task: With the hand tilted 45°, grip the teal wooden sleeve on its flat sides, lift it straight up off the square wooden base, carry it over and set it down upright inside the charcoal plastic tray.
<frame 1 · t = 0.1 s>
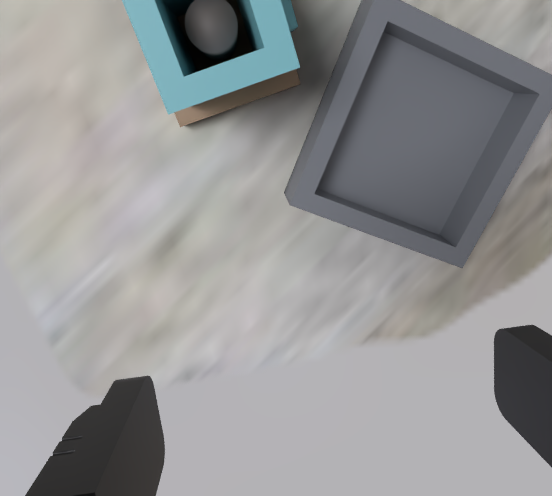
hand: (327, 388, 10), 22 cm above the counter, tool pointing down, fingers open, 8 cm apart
charcoal tray: (405, 138, 31), on the counter
teal sleeve: (217, 38, 26), point 1 cm above the counter, touching square wooden base
square wooden base: (217, 41, 28), on the counter
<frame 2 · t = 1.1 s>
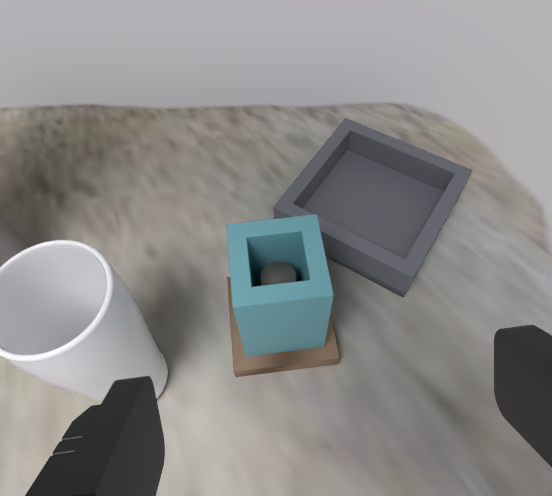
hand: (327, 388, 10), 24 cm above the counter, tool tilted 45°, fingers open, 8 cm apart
charcoal tray: (369, 211, 42), on the counter
drinking glass: (136, 379, 35), on the counter
teal sleeve: (280, 315, 35), point 1 cm above the counter, touching square wooden base
square wooden base: (280, 322, 37), on the counter
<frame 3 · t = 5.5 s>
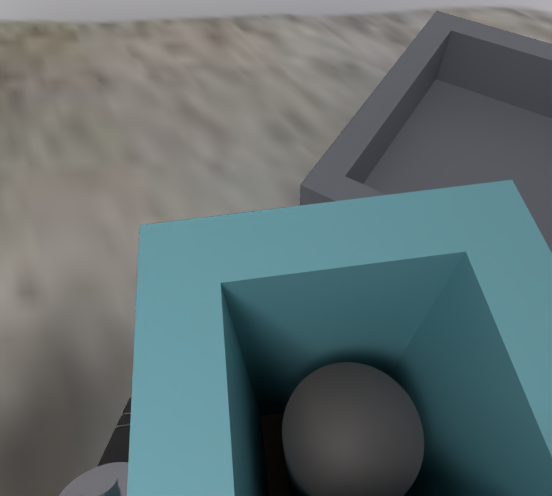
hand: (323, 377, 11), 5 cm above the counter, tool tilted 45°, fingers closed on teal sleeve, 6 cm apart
charcoal tray: (497, 197, 20), on the counter
teal sleeve: (328, 471, 13), point 2 cm above the counter, touching gripper, square wooden base
square wooden base: (325, 476, 14), on the counter
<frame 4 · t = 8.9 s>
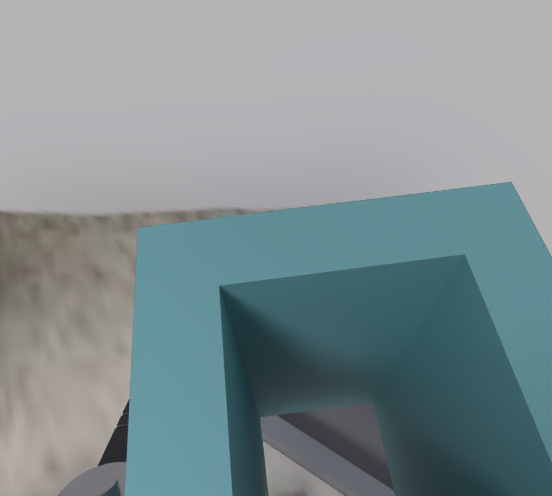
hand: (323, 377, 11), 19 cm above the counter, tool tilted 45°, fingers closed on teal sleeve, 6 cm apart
charcoal tray: (370, 387, 29), on the counter
teal sleeve: (327, 472, 13), point 15 cm above the counter, touching gripper
when the fingers open (6 cm above the counter, at t = 12.5 s): teal sleeve drops 2 cm, resting on charcoal tray.
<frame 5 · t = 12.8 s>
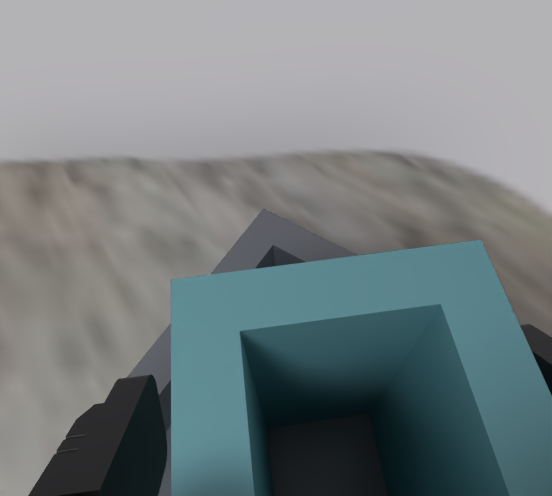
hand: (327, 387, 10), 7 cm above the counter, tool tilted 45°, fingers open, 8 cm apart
charcoal tray: (322, 479, 15), on the counter
teal sleeve: (327, 478, 14), point 1 cm above the counter, touching charcoal tray
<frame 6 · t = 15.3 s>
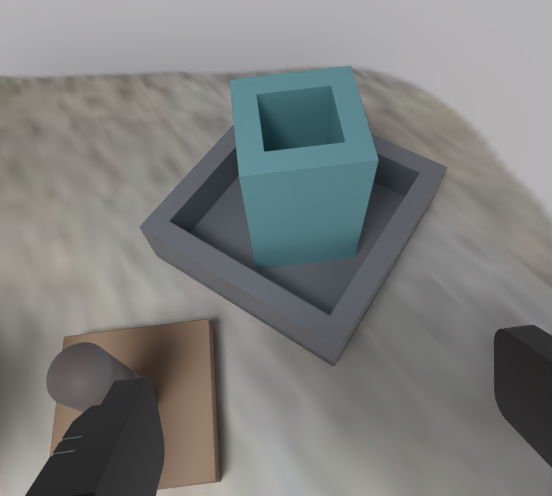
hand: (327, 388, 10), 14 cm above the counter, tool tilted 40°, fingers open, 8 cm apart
charcoal tray: (296, 227, 29), on the counter
teal sleeve: (298, 221, 28), point 1 cm above the counter, touching charcoal tray
square wooden base: (142, 407, 24), on the counter
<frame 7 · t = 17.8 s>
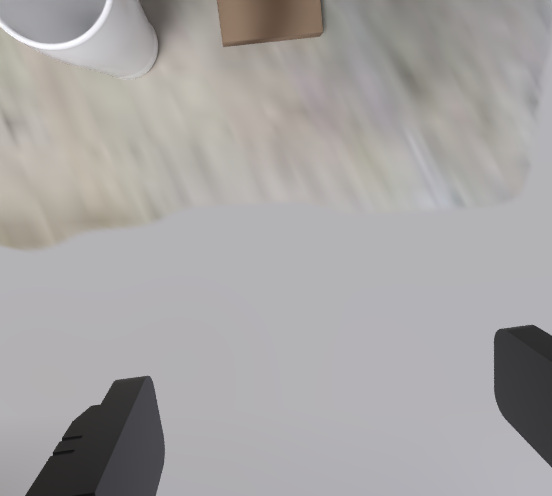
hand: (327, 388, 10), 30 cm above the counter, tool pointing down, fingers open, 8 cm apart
drinking glass: (126, 46, 36), on the counter
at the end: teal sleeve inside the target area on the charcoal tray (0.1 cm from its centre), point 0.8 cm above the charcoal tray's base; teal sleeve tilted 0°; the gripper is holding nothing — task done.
